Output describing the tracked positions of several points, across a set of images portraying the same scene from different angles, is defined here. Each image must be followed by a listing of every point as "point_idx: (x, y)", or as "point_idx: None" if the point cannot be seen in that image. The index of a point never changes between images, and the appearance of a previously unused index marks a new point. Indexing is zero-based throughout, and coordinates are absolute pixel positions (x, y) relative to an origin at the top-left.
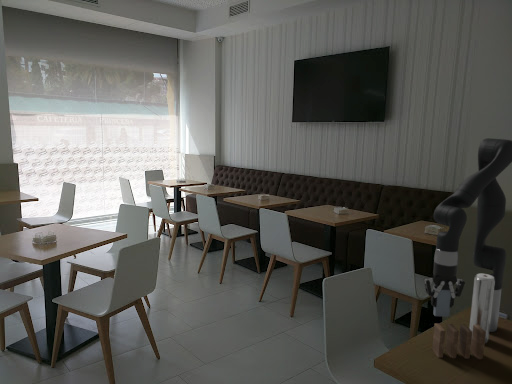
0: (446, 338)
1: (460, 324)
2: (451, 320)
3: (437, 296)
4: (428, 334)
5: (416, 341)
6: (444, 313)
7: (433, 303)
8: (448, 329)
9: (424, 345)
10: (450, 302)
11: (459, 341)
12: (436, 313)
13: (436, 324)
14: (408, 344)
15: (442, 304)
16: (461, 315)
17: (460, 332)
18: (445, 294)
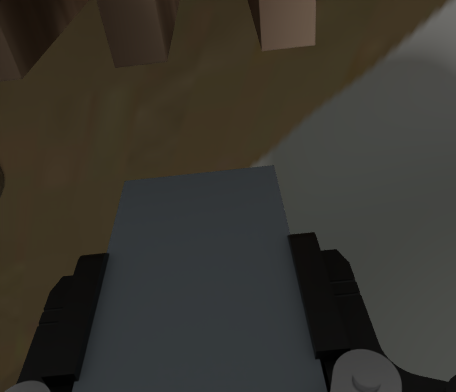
0: (175, 5)
1: (22, 77)
2: None
3: (309, 380)
4: (233, 167)
5: (341, 73)
6: (174, 195)
7: (334, 272)
8: (163, 10)
9: None
10: (91, 309)
11: (68, 6)
12: (264, 184)
13: (303, 18)
14: (416, 21)
15: (206, 274)
16: (25, 349)
17: (42, 32)
18: None
